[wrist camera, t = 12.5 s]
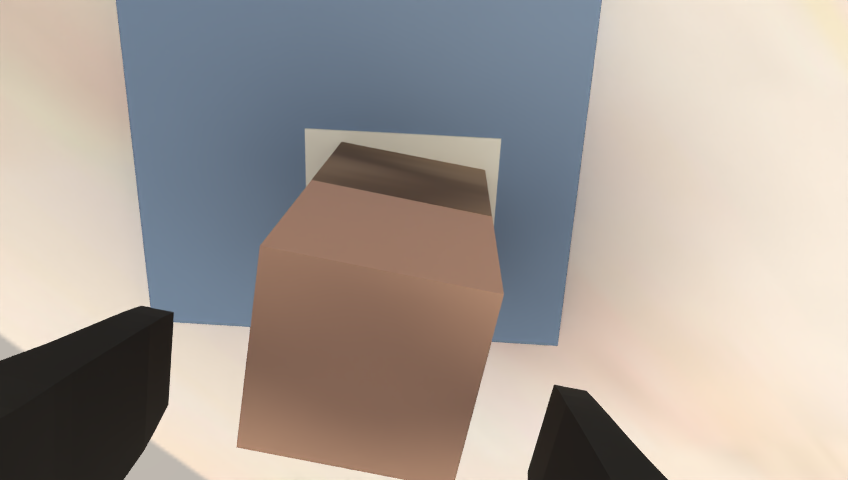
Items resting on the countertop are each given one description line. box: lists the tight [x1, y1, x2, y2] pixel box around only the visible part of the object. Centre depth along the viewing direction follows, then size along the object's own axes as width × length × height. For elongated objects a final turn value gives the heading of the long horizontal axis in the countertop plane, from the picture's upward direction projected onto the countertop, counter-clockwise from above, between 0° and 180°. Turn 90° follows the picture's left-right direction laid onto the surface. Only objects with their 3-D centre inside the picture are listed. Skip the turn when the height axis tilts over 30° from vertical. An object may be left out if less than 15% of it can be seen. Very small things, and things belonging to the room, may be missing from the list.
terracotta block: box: [237, 180, 504, 480], centre depth 15 cm, size 4×4×4 cm
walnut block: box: [312, 142, 492, 216], centre depth 19 cm, size 4×4×4 cm
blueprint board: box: [116, 0, 602, 346], centre depth 20 cm, size 18×14×1 cm
